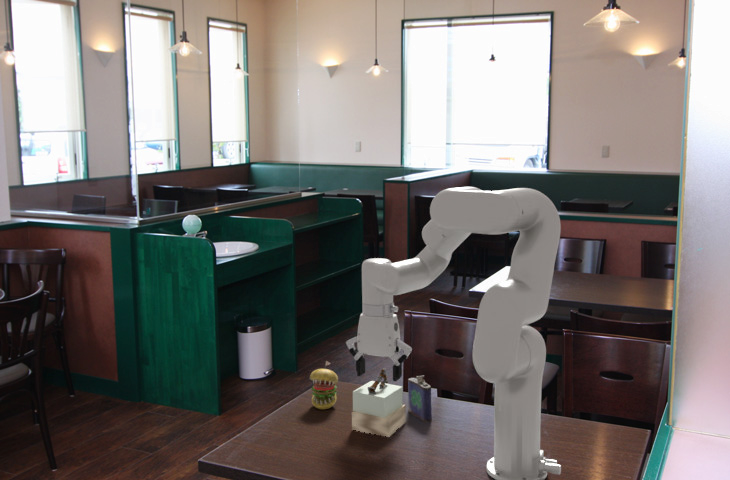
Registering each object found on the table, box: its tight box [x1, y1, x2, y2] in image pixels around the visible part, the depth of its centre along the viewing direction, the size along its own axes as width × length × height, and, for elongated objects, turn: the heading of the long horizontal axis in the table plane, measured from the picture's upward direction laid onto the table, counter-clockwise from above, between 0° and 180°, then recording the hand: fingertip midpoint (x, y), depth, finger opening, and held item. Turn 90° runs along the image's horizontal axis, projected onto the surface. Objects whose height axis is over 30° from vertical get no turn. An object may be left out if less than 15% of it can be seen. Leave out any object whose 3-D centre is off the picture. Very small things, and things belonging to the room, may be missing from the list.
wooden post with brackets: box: [367, 367, 389, 394], centre depth 172 cm, size 2×8×4 cm, turn 150°
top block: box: [352, 380, 404, 418], centre depth 172 cm, size 9×9×5 cm
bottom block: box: [351, 404, 407, 438], centre depth 173 cm, size 10×10×5 cm
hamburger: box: [309, 360, 339, 410], centre depth 186 cm, size 8×7×12 cm
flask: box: [407, 375, 433, 423], centre depth 179 cm, size 9×3×11 cm, turn 28°
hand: (378, 377), depth 172 cm, fingers open, 9 cm apart
